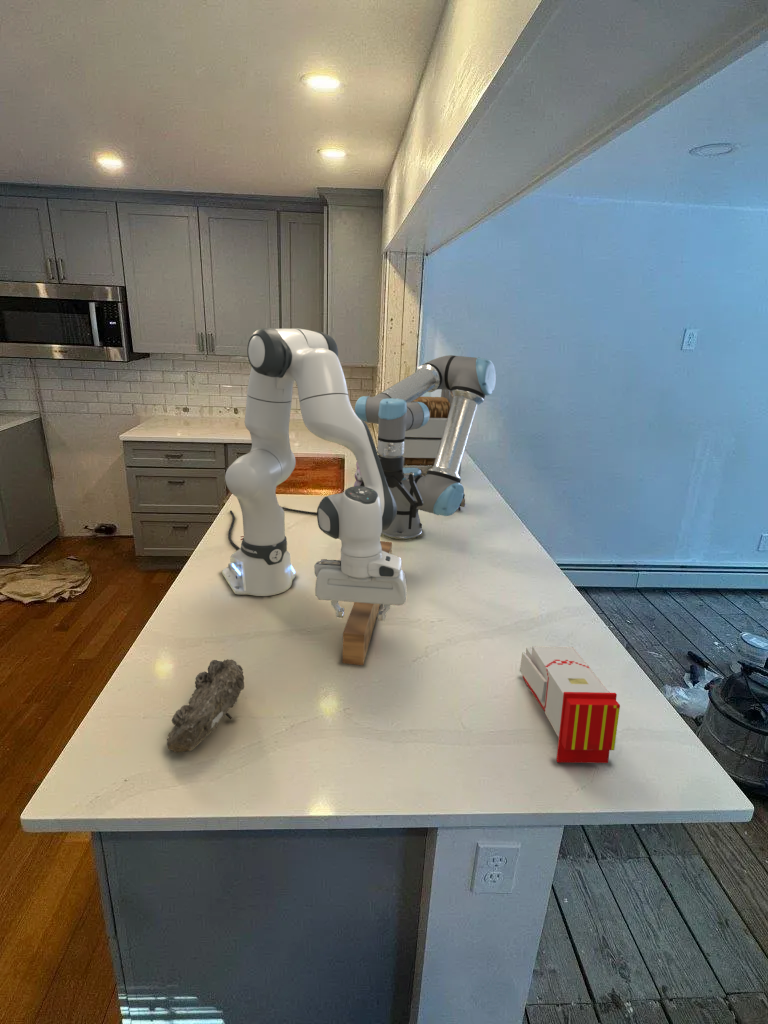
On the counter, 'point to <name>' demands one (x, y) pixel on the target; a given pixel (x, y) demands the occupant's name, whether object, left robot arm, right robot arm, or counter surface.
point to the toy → (572, 703)
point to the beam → (360, 626)
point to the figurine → (358, 476)
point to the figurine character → (462, 502)
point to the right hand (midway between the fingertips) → (386, 525)
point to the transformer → (428, 432)
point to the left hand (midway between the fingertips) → (360, 618)
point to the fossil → (206, 705)
